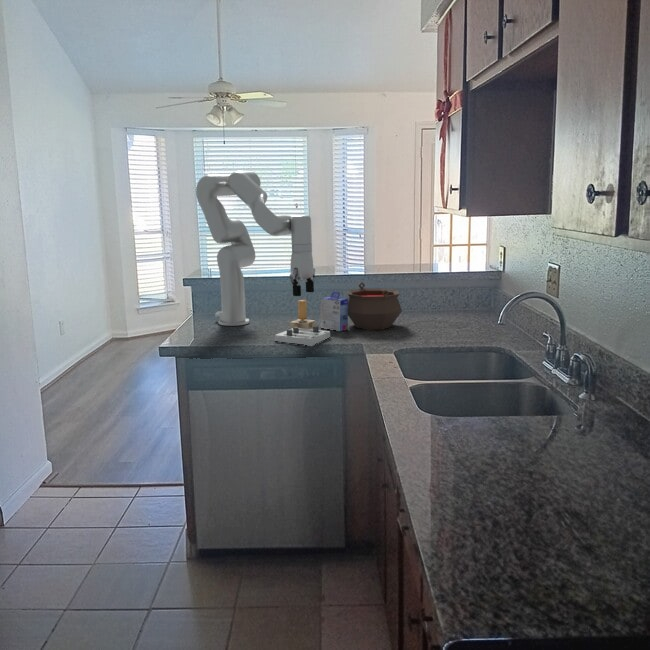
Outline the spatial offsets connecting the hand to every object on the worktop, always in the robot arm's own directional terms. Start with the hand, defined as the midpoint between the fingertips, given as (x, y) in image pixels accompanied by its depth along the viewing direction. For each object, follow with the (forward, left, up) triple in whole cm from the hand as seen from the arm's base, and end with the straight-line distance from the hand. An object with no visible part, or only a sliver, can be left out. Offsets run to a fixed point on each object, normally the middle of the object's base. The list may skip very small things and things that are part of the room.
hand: (303, 294), depth 248 cm
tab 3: (+9, -8, -13) cm, 18 cm away
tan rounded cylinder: (-1, 0, -15) cm, 15 cm away
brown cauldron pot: (+19, +21, -15) cm, 32 cm away
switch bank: (+6, -12, -15) cm, 20 cm away
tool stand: (-1, 0, -15) cm, 15 cm away
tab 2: (+3, -12, -13) cm, 18 cm away
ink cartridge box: (+8, +9, -15) cm, 19 cm away
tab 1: (+3, -16, -13) cm, 21 cm away
